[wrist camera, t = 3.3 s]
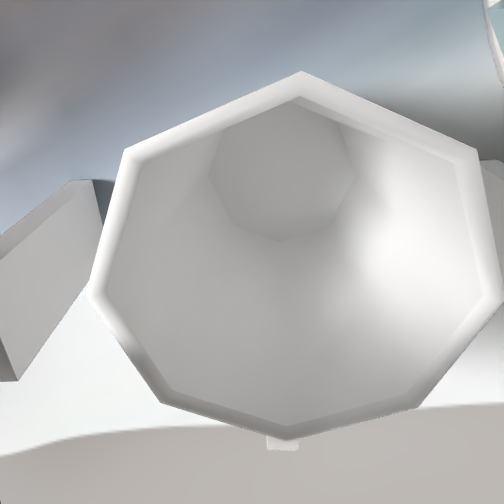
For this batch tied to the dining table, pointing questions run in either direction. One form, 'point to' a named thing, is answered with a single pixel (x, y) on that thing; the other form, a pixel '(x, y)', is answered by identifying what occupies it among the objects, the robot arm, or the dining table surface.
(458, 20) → the dining table surface
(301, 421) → the cup
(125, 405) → the dining table surface
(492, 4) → the saucer
